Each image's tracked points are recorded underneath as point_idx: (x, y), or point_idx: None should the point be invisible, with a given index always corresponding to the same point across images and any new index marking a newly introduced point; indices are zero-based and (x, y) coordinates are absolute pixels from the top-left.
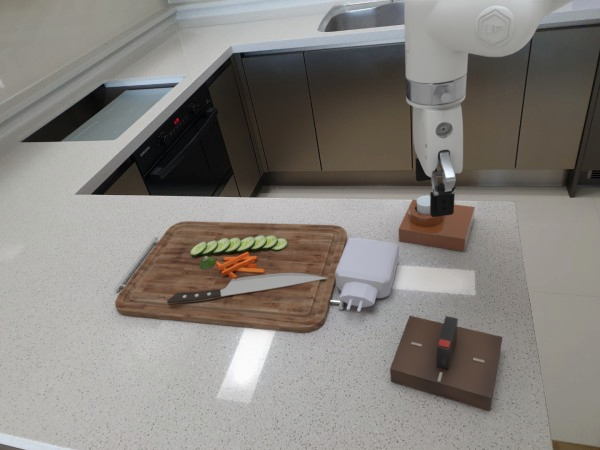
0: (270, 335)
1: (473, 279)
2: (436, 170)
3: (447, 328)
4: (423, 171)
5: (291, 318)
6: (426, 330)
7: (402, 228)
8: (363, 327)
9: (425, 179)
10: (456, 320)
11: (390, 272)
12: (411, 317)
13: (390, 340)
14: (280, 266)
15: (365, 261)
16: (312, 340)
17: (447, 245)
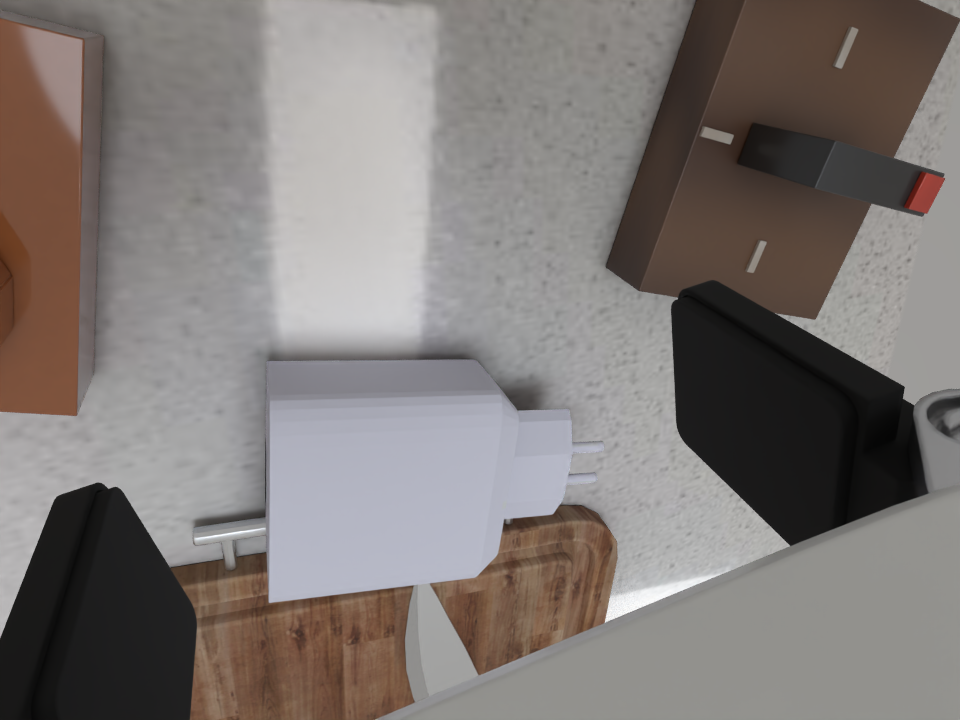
0: (610, 602)
1: (331, 5)
2: (75, 550)
3: (866, 181)
4: (160, 664)
5: (573, 587)
6: (706, 228)
7: (68, 398)
8: (594, 402)
9: (166, 569)
10: (842, 146)
11: (461, 399)
12: (649, 284)
13: (645, 319)
14: (373, 704)
15: (423, 506)
16: (631, 511)
17: (95, 137)
